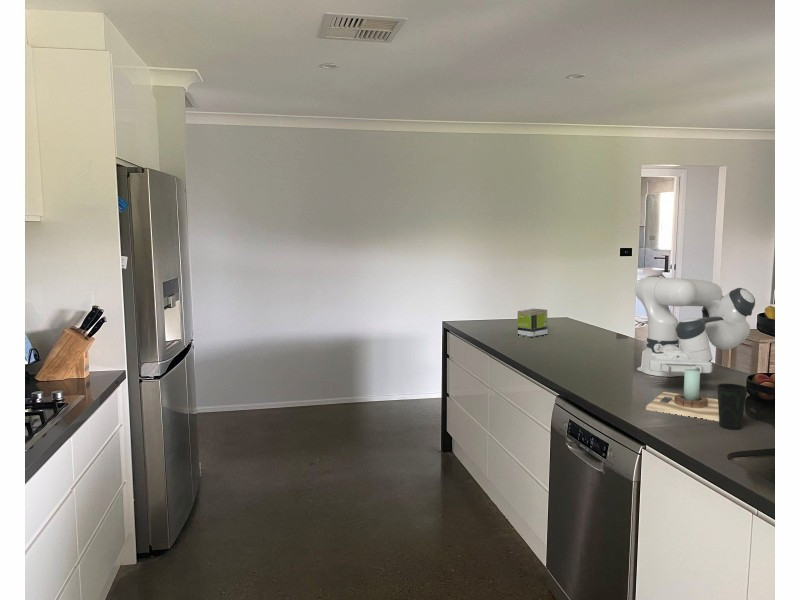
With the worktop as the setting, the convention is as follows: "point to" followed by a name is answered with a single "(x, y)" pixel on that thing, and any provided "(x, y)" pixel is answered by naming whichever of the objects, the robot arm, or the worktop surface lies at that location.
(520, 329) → the tea box
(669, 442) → the worktop surface
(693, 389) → the peg
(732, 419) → the cup
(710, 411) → the socket board
